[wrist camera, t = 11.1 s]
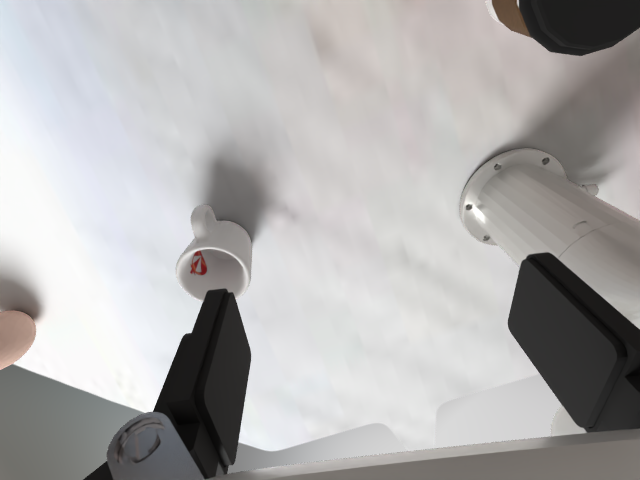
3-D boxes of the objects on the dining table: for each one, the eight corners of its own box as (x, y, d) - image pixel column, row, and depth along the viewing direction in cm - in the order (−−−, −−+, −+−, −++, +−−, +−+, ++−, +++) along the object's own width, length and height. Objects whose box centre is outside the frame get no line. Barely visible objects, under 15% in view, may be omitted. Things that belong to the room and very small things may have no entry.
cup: (176, 197, 41) (150, 229, 34) (241, 184, 41) (228, 214, 34) (207, 270, 47) (191, 310, 40) (265, 259, 46) (258, 298, 39)
